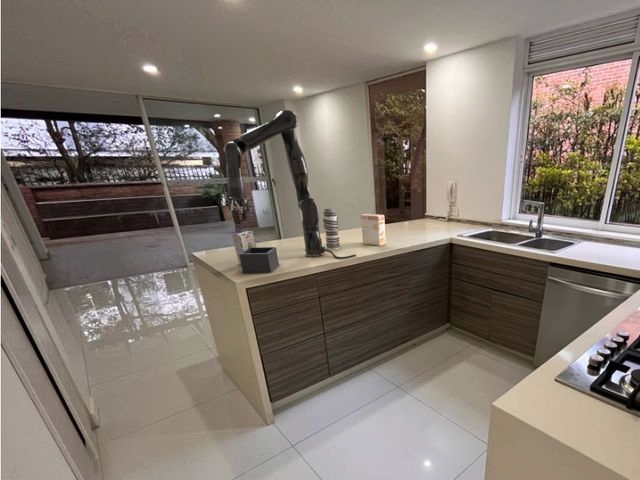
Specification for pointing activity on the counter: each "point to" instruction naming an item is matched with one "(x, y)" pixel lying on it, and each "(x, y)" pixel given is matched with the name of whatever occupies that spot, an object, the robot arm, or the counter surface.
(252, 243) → the candy bar box
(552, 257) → the counter surface
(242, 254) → the bin
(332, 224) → the decorative candle
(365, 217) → the coffeecake box
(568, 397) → the counter surface
